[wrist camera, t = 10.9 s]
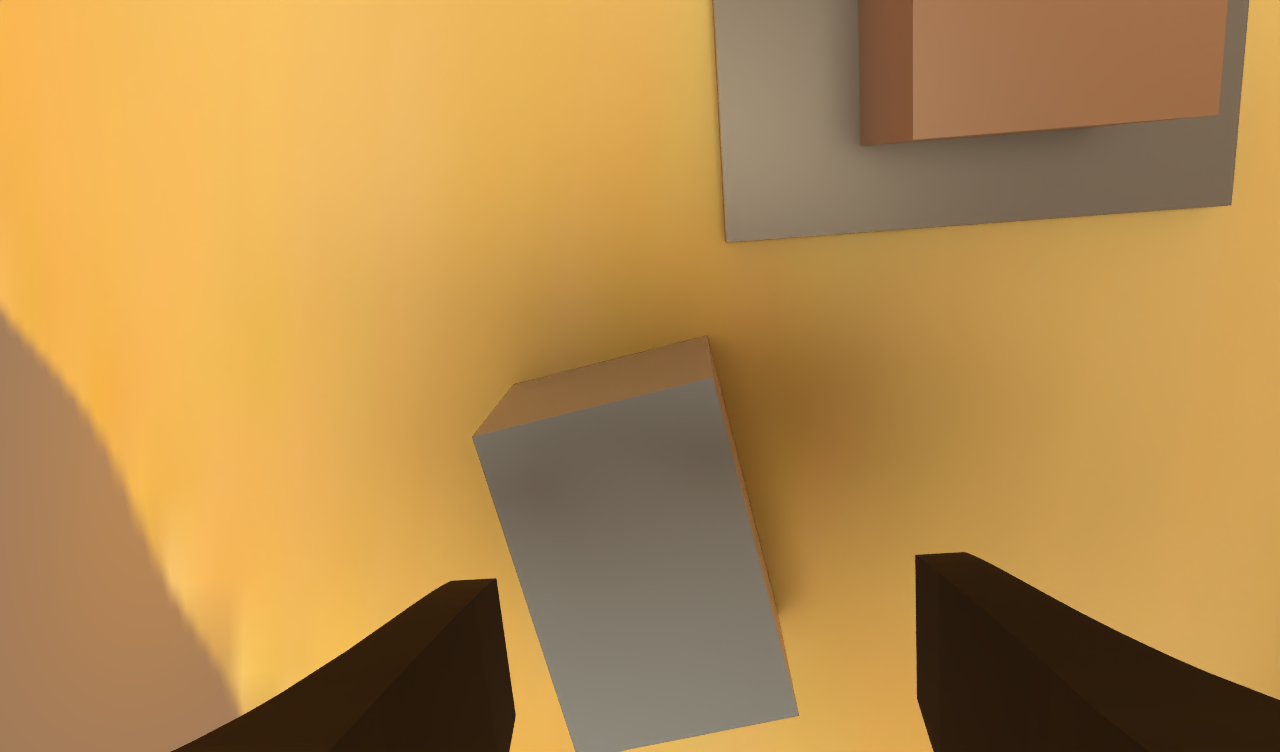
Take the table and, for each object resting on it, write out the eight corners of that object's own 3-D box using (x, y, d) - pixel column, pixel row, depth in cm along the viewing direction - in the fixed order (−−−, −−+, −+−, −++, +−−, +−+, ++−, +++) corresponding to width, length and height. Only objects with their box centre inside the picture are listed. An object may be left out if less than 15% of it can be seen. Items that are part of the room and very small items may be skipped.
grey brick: (706, 334, 19) (712, 377, 15) (777, 610, 20) (799, 715, 16) (515, 382, 19) (472, 436, 15) (598, 649, 21) (578, 759, 17)
